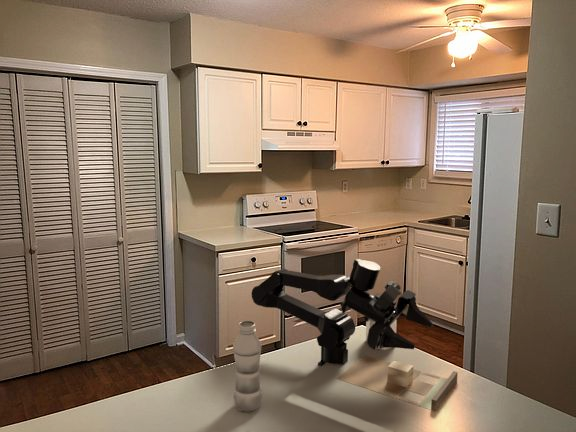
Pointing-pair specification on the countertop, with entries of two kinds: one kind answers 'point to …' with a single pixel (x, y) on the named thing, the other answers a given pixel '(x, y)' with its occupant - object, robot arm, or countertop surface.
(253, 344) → the plastic bottle
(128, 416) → the countertop surface
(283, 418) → the countertop surface
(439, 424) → the countertop surface
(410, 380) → the block
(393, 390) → the board
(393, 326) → the jar
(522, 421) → the countertop surface
